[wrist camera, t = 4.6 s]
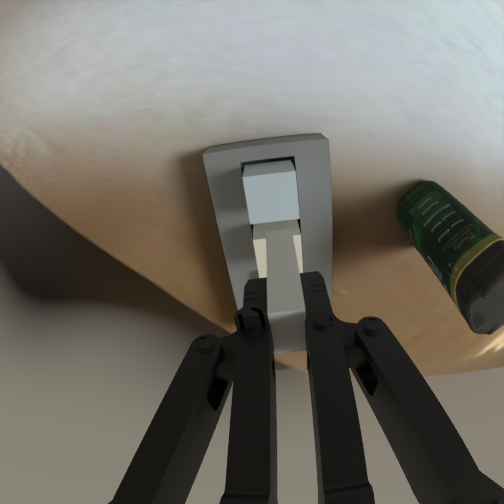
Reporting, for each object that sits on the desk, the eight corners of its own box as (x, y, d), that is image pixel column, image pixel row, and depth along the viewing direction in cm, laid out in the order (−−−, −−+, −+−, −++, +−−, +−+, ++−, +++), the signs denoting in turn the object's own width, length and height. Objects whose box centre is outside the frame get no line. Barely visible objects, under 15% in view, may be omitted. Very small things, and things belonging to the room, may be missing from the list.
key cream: (253, 220, 29) (252, 240, 26) (296, 216, 29) (300, 234, 25) (259, 256, 31) (259, 278, 28) (298, 252, 31) (303, 273, 28)
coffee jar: (385, 205, 32) (467, 306, 16) (430, 169, 29) (532, 246, 13) (414, 254, 35) (477, 353, 19) (453, 222, 32) (531, 307, 16)
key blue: (244, 165, 26) (242, 177, 23) (290, 159, 26) (295, 171, 22) (251, 206, 28) (250, 224, 25) (294, 201, 28) (299, 218, 25)
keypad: (209, 146, 29) (202, 154, 25) (320, 133, 28) (328, 138, 24) (246, 320, 42) (245, 340, 39) (324, 312, 41) (329, 331, 38)
